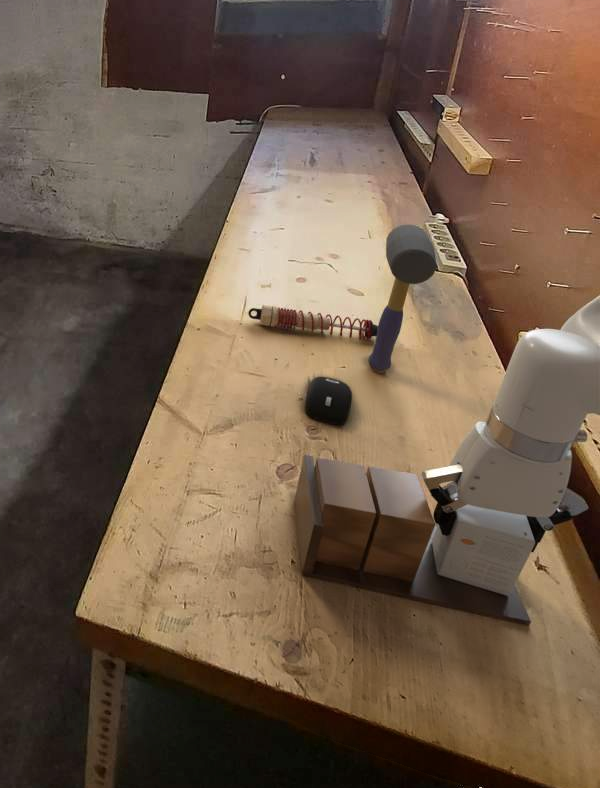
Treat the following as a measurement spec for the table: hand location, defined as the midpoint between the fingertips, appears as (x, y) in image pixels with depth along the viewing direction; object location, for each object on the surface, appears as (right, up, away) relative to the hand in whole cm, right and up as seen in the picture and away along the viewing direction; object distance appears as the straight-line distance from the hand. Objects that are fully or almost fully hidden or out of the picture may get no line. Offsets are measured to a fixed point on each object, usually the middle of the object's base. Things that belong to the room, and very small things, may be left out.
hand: (482, 533), depth 72 cm
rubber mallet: (+10, +12, +42) cm, 45 cm away
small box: (0, -6, +3) cm, 7 cm away
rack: (-7, -6, +5) cm, 11 cm away
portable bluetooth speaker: (-4, +8, +33) cm, 34 cm away
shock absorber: (+4, +18, +54) cm, 58 cm away
